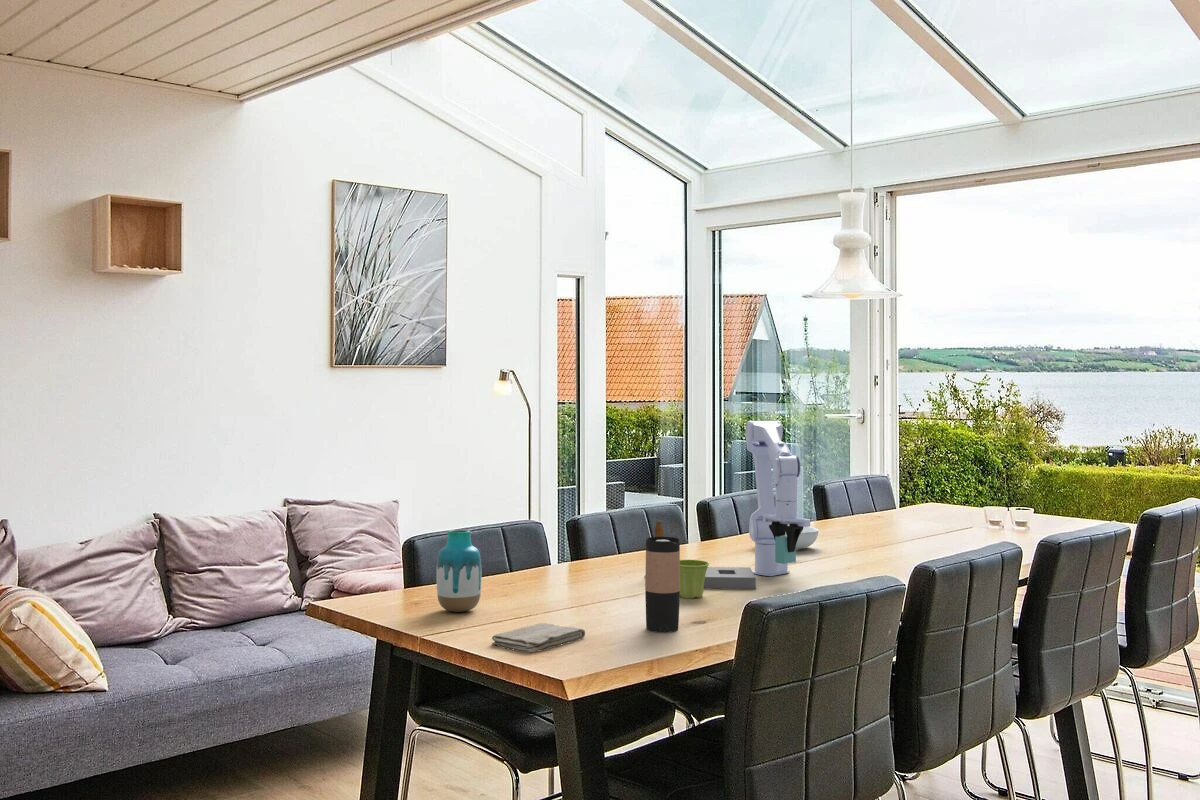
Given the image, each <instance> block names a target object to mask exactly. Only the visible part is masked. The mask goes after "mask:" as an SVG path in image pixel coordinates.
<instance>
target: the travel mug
mask: <svg viewBox="0 0 1200 800" xmlns="http://www.w3.org/2000/svg"><path fill="white" fill-rule="evenodd" d="M680 545H681V542H680V538H678V537H673V536H663V537H655V536H650V537H647V538H646V539H645V574H644V576H645V578H644V579H645V583H644V584H645V585H644V587H645V592H644V593H645V625H646V627H645V628H646V630H647V631H650V632H652V633H674V632H676V631H679V625H680V624H679V623H680V600H681V599H680V597H681V596H680V560H681V555H680V553H681V552H680V551H681V549H680V547H681V546H680Z"/></svg>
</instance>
